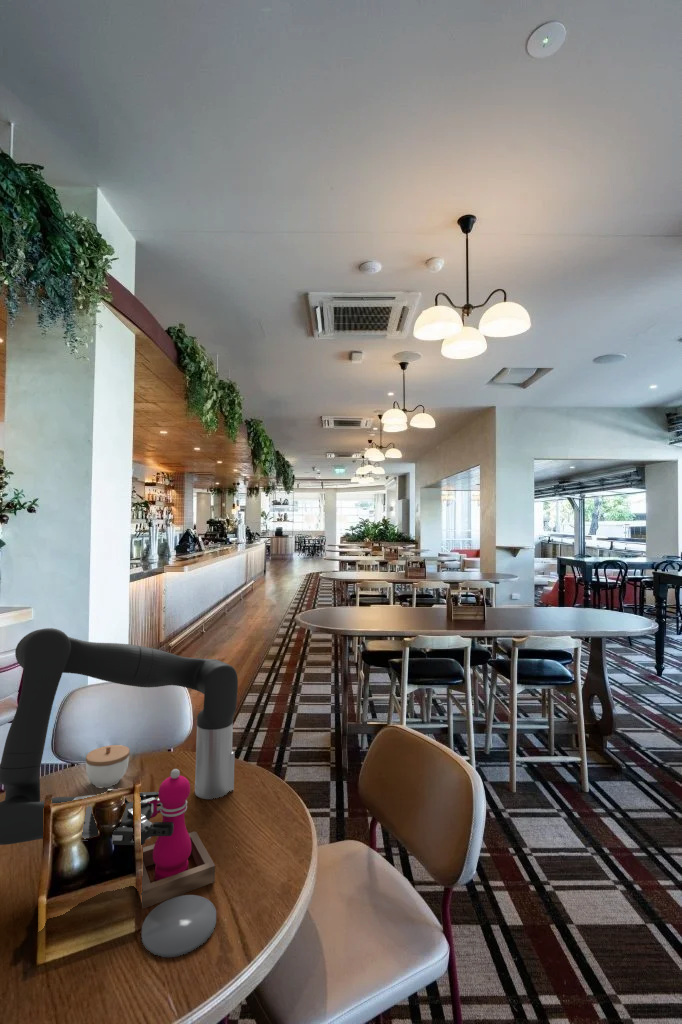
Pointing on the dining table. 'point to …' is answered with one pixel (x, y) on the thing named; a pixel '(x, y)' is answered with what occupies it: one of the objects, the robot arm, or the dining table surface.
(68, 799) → the robot arm
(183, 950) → the grey round disc
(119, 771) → the lidded jar
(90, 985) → the dining table surface
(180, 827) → the pepper mill
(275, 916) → the dining table surface
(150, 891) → the walnut board
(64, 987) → the dining table surface
